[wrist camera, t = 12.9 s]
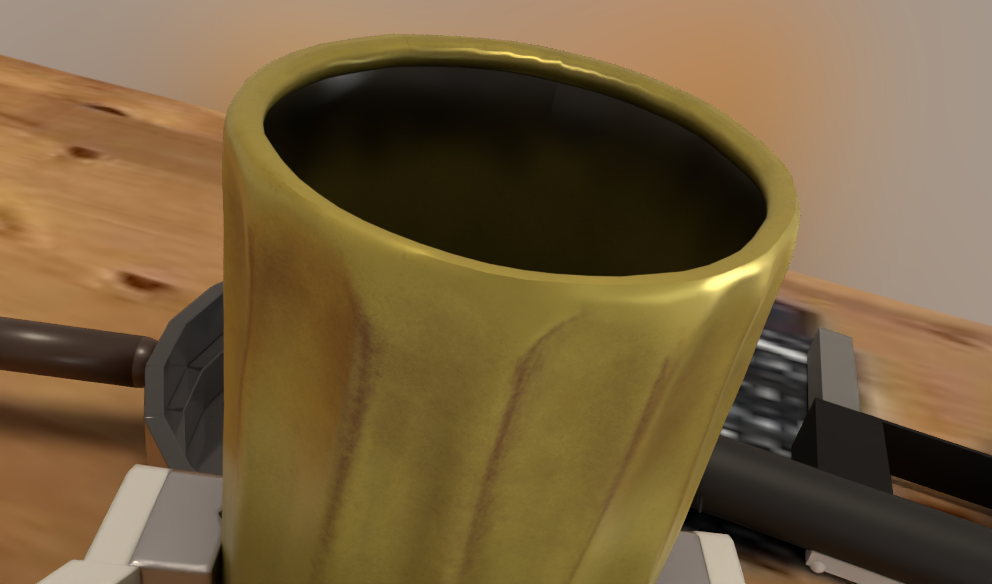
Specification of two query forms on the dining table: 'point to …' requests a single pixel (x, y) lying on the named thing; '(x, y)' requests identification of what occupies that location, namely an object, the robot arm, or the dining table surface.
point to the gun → (855, 488)
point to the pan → (188, 389)
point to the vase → (481, 312)
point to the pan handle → (74, 352)
